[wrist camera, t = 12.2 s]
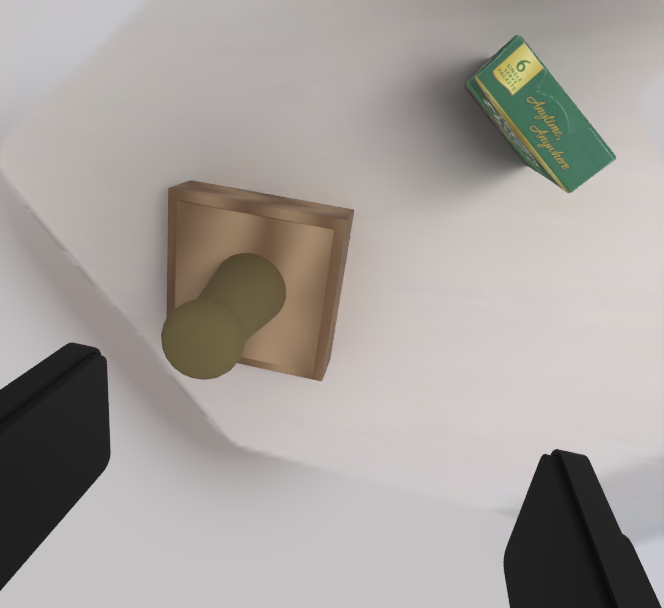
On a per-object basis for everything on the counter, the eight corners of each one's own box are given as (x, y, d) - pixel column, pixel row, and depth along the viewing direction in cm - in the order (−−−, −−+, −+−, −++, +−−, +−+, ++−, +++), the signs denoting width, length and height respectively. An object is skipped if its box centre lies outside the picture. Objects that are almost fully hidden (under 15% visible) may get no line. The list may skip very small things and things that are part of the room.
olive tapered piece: (207, 254, 40) (134, 307, 30) (280, 250, 39) (229, 303, 29) (221, 324, 43) (158, 394, 33) (291, 322, 41) (247, 394, 31)
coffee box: (457, 82, 37) (472, 75, 25) (491, 51, 36) (523, 28, 24) (525, 168, 38) (570, 201, 26) (559, 141, 37) (623, 162, 25)
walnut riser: (354, 209, 41) (346, 221, 37) (330, 359, 47) (321, 382, 43) (190, 180, 43) (167, 188, 39) (186, 328, 48) (165, 348, 44)
